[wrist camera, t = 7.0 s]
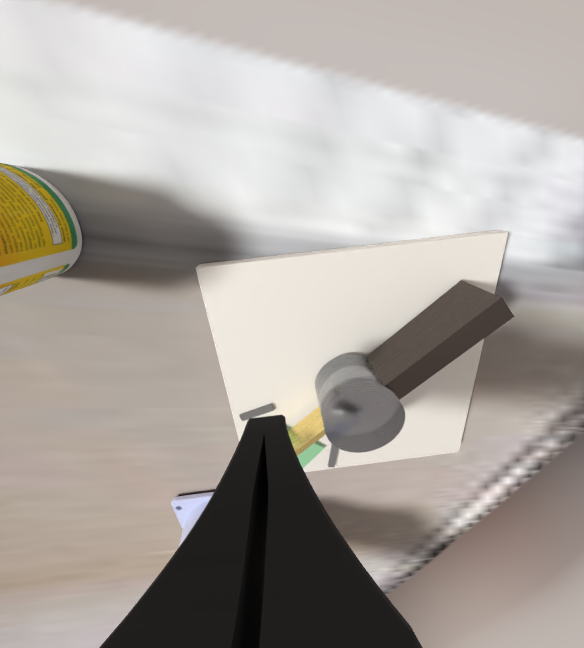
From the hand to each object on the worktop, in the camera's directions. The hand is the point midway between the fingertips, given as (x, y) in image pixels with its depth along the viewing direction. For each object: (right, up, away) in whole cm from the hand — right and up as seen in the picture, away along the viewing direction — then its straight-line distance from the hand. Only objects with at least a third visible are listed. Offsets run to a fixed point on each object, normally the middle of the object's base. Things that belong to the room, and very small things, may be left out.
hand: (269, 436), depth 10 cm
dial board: (+5, +1, +9) cm, 10 cm away
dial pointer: (+5, +1, +8) cm, 9 cm away
